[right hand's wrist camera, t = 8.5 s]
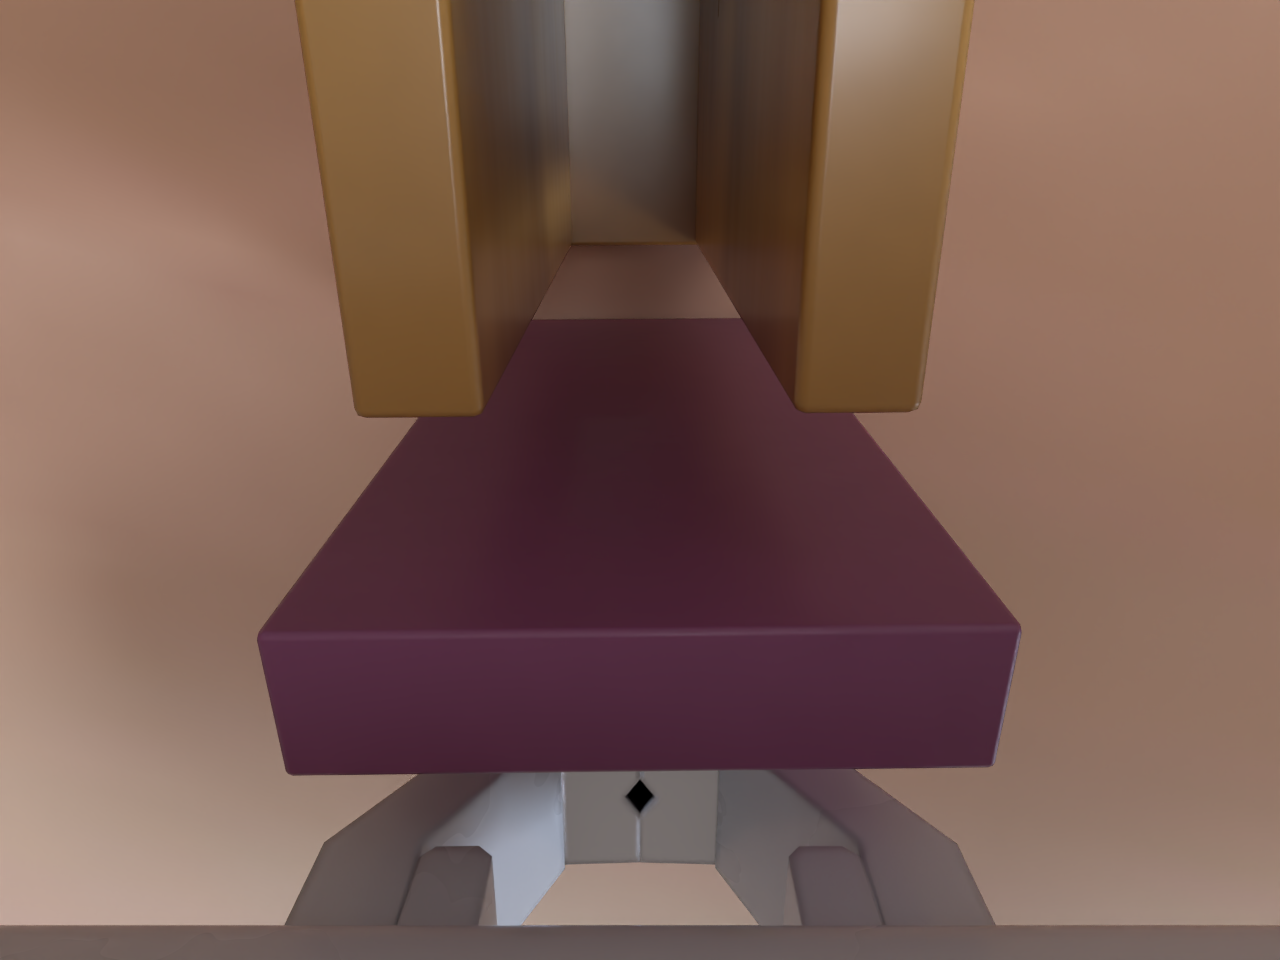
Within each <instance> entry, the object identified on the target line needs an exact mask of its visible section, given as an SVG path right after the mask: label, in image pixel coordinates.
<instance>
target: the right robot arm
mask: <svg viewBox="0 0 1280 960" xmlns="http://www.w3.org/2000/svg"><path fill="white" fill-rule="evenodd" d="M629 862H649V863H684V864H715V868H716V869H717V871H718V872H719V873H720V875H721V876H722V877H723V879H724V880H725V881H726V882H727V884H728V885H729V886H730V888H731V889H732V890H733V891H734V893H735V894H736V895H737V897H738V898H739V899H740V901H741V902H742V903H743V904H744V906H745V907H746V908H747V910H748V911H749V912H750V913H751V915H752V916H753V917H754V919H755V920H756V921H757V923H758V924H759V925H521V924H522V923H523V922H524V921H525V919H526V918H527V917H528V915H529V914H530V913H531V912H532V910H533V909H534V908H535V906H536V905H537V904H538V903H539V901H540V900H541V899H542V897H543V896H544V895H545V894H546V892H547V891H548V890H549V888H550V887H551V886H552V885H553V883H554V882H555V881H556V879H557V878H558V877H559V876H560V874H561V873H562V872H563V870H564V869H565V864H594V863H629ZM0 960H1280V926H1270V925H995V923H994V921H993V919H992V916H991V914H990V912H989V910H988V908H987V906H986V904H985V902H984V900H983V898H982V895H981V893H980V891H979V889H978V887H977V885H976V883H975V881H974V879H973V877H972V874H971V872H970V870H969V868H968V866H967V864H966V862H965V860H964V858H963V856H962V853H961V851H960V849H959V847H958V845H957V843H955V842H954V841H952V840H951V839H950V838H948V837H947V836H946V835H944V834H943V833H941V832H940V831H939V830H937V829H936V828H935V827H933V826H932V825H930V824H929V823H928V822H926V821H925V820H924V819H922V818H921V817H919V816H918V815H917V814H915V813H914V812H913V811H911V810H910V809H908V808H907V807H906V806H904V805H903V804H902V803H900V802H899V801H897V800H896V799H895V798H893V797H892V796H891V795H889V794H888V793H886V792H885V791H884V790H882V789H881V788H880V787H878V786H877V785H875V784H874V783H873V782H871V781H870V780H869V779H867V778H866V777H864V776H863V775H862V774H860V773H859V772H858V771H856V770H855V769H801V770H716V771H632V772H547V773H463V774H418V775H417V776H415V777H414V778H413V779H411V780H410V781H408V782H407V783H406V784H404V785H403V786H402V787H400V788H399V789H397V790H396V791H395V792H393V793H392V794H390V795H389V796H388V797H386V798H385V799H384V800H382V801H381V802H379V803H378V804H377V805H375V806H374V807H373V808H371V809H370V810H368V811H367V812H366V813H364V814H363V815H361V816H360V817H359V818H357V819H356V820H355V821H353V822H352V823H350V824H349V825H348V826H346V827H345V828H344V829H342V830H341V831H339V832H338V833H337V834H335V835H334V836H332V837H331V838H330V839H328V840H327V841H326V842H324V844H323V846H322V848H321V850H320V852H319V854H318V856H317V858H316V861H315V863H314V865H313V867H312V869H311V871H310V873H309V875H308V877H307V879H306V881H305V883H304V885H303V888H302V890H301V892H300V894H299V896H298V898H297V900H296V902H295V904H294V906H293V908H292V910H291V912H290V914H289V917H288V919H287V921H286V923H285V925H0Z"/></svg>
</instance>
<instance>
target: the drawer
mask: <svg viewBox="0 0 1280 960" xmlns="http://www.w3.org/2000/svg"><path fill="white" fill-rule="evenodd" d="M974 2H975V0H295V7H296V14H297V21H298V28H299V34H300V41H301V48H302V55H303V62H304V68H305V75H306V82H307V89H308V96H309V102H310V109H311V116H312V123H313V130H314V136H315V143H316V150H317V157H318V164H319V170H320V177H321V184H322V191H323V198H324V204H325V211H326V218H327V225H328V232H329V238H330V245H331V252H332V259H333V266H334V272H335V279H336V286H337V293H338V300H339V306H340V313H341V320H342V327H343V334H344V340H345V347H346V354H347V361H348V368H349V374H350V381H351V388H352V395H353V402H354V408H355V410H356V412H357V414H358V415H359V416H362V417H366V418H388V417H419V418H418V419H417V420H416V422H415V423H414V424H413V426H412V427H411V428H410V430H409V431H408V432H407V434H406V435H405V436H404V438H403V439H402V440H401V442H400V443H399V444H398V446H397V447H396V448H395V450H394V451H393V452H392V454H391V455H390V456H389V458H388V459H387V461H386V462H385V463H384V465H383V466H382V467H381V469H380V470H379V471H378V473H377V474H376V475H375V477H374V478H373V479H372V481H371V482H370V483H369V485H368V486H367V487H366V489H365V490H364V491H363V493H362V494H361V495H360V497H359V498H358V499H357V501H356V502H355V503H354V505H353V506H352V508H351V509H350V510H349V512H348V513H347V514H346V516H345V517H344V518H343V520H342V521H341V522H340V524H339V525H338V526H337V528H336V529H335V530H334V532H333V533H332V534H331V536H330V537H329V538H328V540H327V541H326V542H325V544H324V545H323V546H322V548H321V549H320V550H319V552H318V553H317V554H316V556H315V557H314V559H313V560H312V561H311V563H310V564H309V565H308V567H307V568H306V569H305V571H304V572H303V573H302V575H301V576H300V577H299V579H298V580H297V581H296V583H295V584H294V585H293V587H292V588H291V589H290V591H289V592H288V593H287V595H286V596H285V597H284V599H283V600H282V601H281V603H280V604H279V605H278V607H277V608H276V610H275V611H274V612H273V614H272V615H271V616H270V618H269V619H268V620H267V622H266V623H265V624H264V626H263V627H262V628H261V630H260V631H259V633H258V637H257V642H258V647H259V651H260V656H261V660H262V665H263V669H264V674H265V678H266V683H267V687H268V692H269V696H270V701H271V705H272V710H273V715H274V719H275V724H276V728H277V733H278V737H279V742H280V746H281V751H282V755H283V760H284V764H285V769H286V772H287V773H288V774H290V775H293V776H294V775H379V774H463V773H547V772H632V771H716V770H801V769H885V768H969V767H990V766H993V764H994V763H995V759H996V754H997V749H998V745H999V740H1000V735H1001V730H1002V725H1003V720H1004V715H1005V711H1006V706H1007V701H1008V696H1009V691H1010V686H1011V682H1012V677H1013V672H1014V667H1015V662H1016V657H1017V652H1018V648H1019V643H1020V638H1021V626H1020V624H1019V622H1018V621H1017V620H1016V619H1015V617H1014V616H1013V615H1012V613H1011V612H1010V611H1009V610H1008V608H1007V607H1006V606H1005V605H1004V603H1003V602H1002V601H1001V600H1000V598H999V597H998V596H997V595H996V593H995V592H994V591H993V589H992V588H991V587H990V586H989V584H988V583H987V582H986V581H985V579H984V578H983V577H982V576H981V574H980V573H979V572H978V571H977V569H976V568H975V567H974V566H973V564H972V563H971V562H970V560H969V559H968V558H967V557H966V555H965V554H964V553H963V552H962V550H961V549H960V548H959V547H958V545H957V544H956V543H955V542H954V540H953V539H952V538H951V537H950V535H949V534H948V533H947V531H946V530H945V529H944V528H943V526H942V525H941V524H940V523H939V521H938V520H937V519H936V518H935V516H934V515H933V514H932V513H931V511H930V510H929V509H928V508H927V506H926V505H925V504H924V502H923V501H922V500H921V499H920V497H919V496H918V495H917V494H916V492H915V491H914V490H913V489H912V487H911V486H910V485H909V484H908V482H907V481H906V480H905V479H904V477H903V476H902V475H901V473H900V472H899V471H898V470H897V468H896V467H895V466H894V465H893V463H892V462H891V461H890V460H889V458H888V457H887V456H886V455H885V453H884V452H883V451H882V449H881V448H880V447H879V446H878V444H877V443H876V442H875V441H874V439H873V438H872V437H871V436H870V434H869V433H868V432H867V431H866V429H865V428H864V427H863V426H862V424H861V423H860V422H859V420H858V419H857V418H856V417H855V415H854V414H853V413H884V412H910V411H913V410H916V409H918V407H919V405H920V403H921V400H922V393H923V386H924V378H925V370H926V363H927V355H928V348H929V340H930V333H931V325H932V318H933V310H934V303H935V295H936V288H937V280H938V273H939V265H940V258H941V250H942V243H943V235H944V228H945V220H946V213H947V205H948V198H949V190H950V183H951V175H952V168H953V160H954V153H955V145H956V138H957V130H958V123H959V115H960V108H961V100H962V93H963V85H964V78H965V70H966V63H967V55H968V47H969V40H970V32H971V25H972V17H973V10H974ZM579 245H698V247H699V248H700V250H701V252H702V253H703V255H704V257H705V258H706V260H707V262H708V263H709V265H710V267H711V268H712V270H713V272H714V273H715V275H716V277H717V278H718V280H719V282H720V283H721V285H722V287H723V288H724V290H725V292H726V293H727V295H728V297H729V298H730V300H731V302H732V303H733V305H734V307H735V308H736V310H737V312H738V313H739V315H740V317H741V318H723V319H593V320H532V318H533V316H534V314H535V312H536V311H537V309H538V307H539V305H540V303H541V301H542V299H543V297H544V295H545V294H546V292H547V290H548V288H549V286H550V284H551V282H552V280H553V278H554V277H555V275H556V273H557V271H558V269H559V267H560V265H561V263H562V261H563V260H564V258H565V256H566V254H567V252H568V250H569V248H570V246H579Z"/></svg>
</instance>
